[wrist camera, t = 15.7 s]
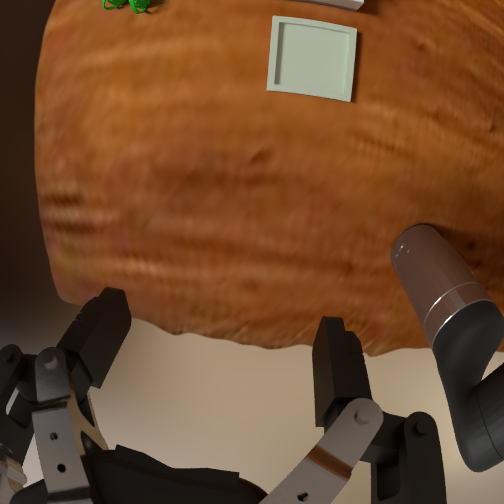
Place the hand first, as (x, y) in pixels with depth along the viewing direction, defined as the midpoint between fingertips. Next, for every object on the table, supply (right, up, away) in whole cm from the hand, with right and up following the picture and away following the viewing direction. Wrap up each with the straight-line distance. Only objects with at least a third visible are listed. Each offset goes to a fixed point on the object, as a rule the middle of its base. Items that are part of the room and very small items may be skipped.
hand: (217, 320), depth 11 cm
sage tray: (+9, +26, +16) cm, 32 cm away
